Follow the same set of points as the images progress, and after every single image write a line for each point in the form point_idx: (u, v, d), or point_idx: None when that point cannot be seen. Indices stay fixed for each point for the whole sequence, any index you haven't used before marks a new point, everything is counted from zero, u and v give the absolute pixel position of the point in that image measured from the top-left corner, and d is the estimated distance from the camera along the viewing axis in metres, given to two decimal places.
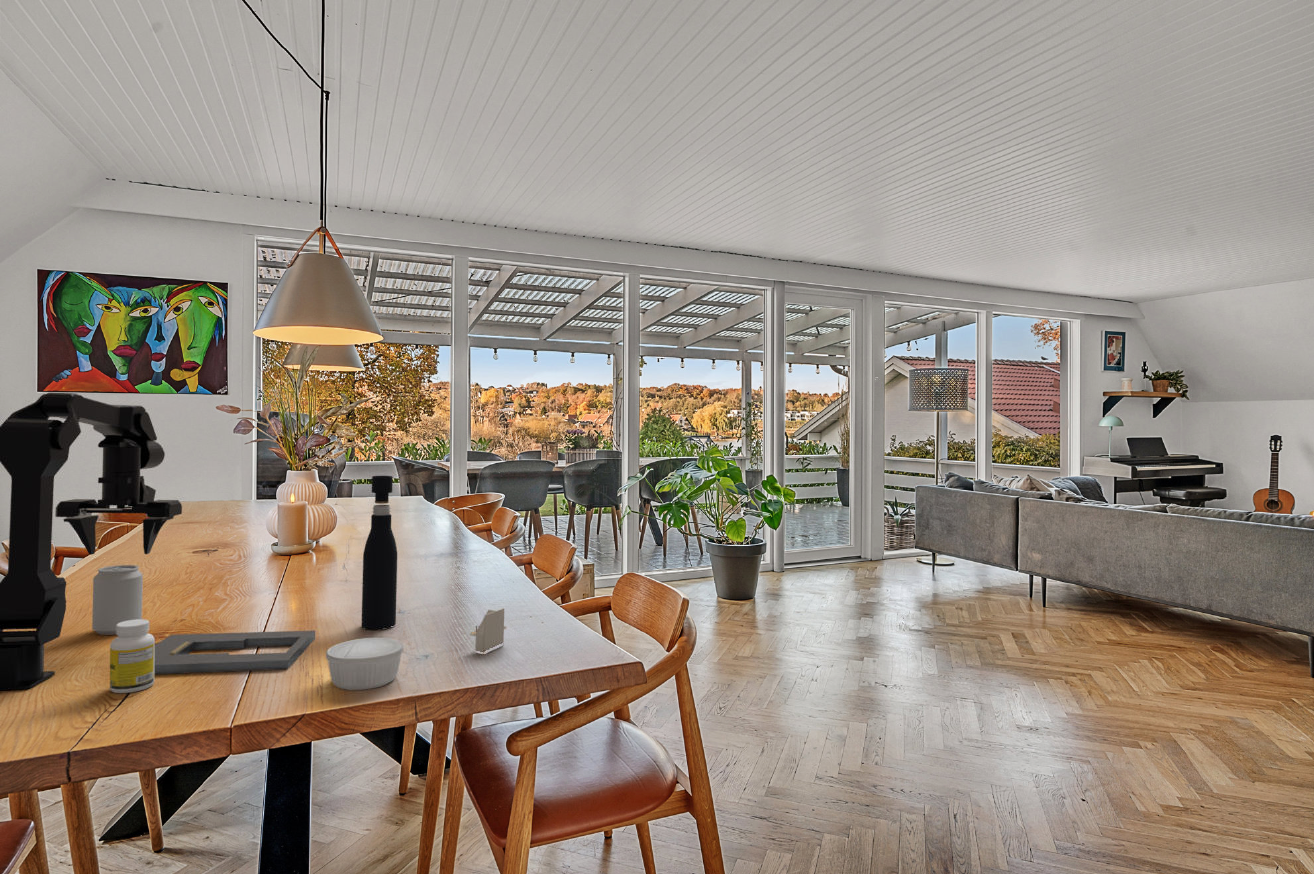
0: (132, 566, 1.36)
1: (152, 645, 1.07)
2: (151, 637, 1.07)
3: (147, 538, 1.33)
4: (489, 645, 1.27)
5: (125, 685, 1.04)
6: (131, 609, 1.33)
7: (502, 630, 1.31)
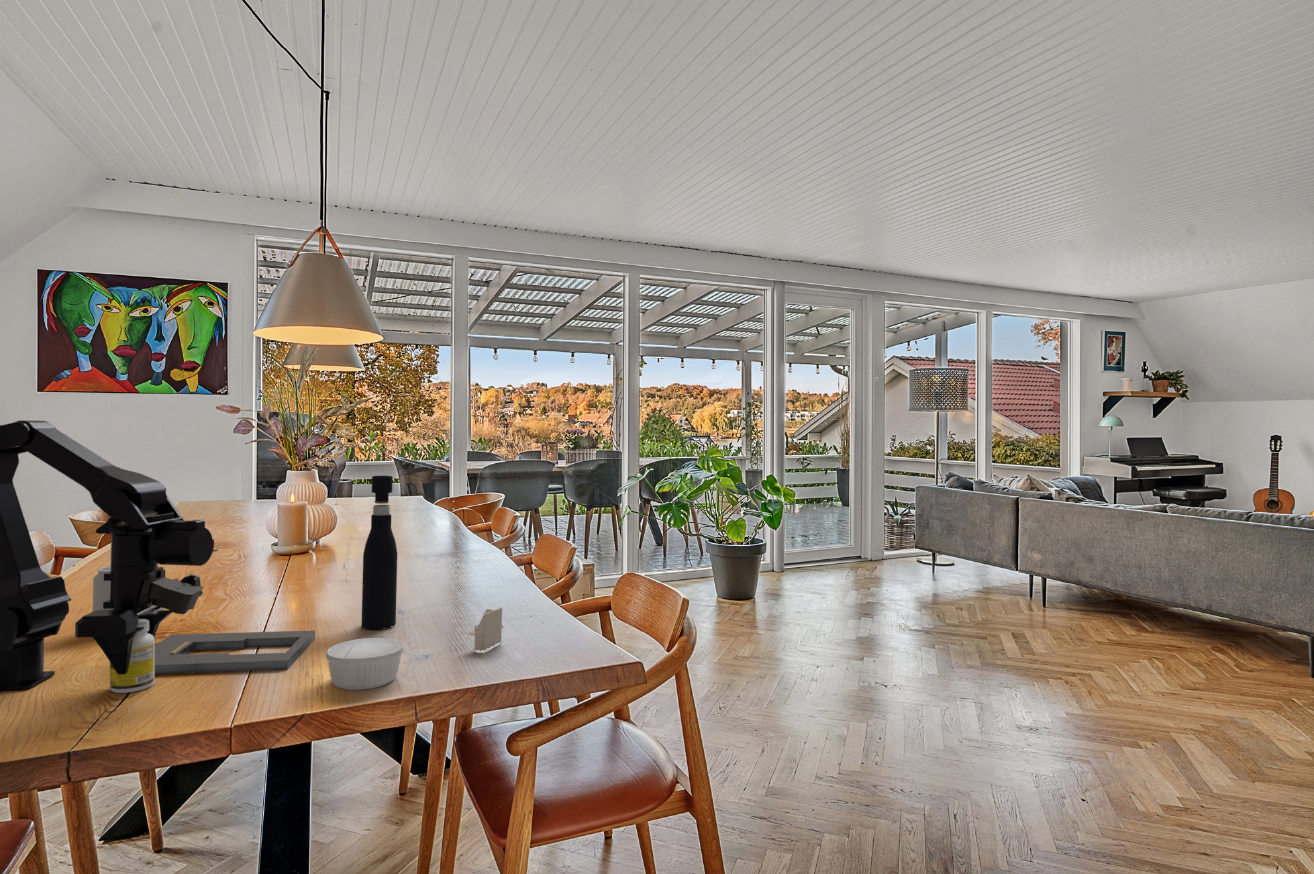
0: None
1: (152, 645, 1.07)
2: (151, 637, 1.07)
3: None
4: (488, 644, 1.28)
5: (125, 685, 1.04)
6: None
7: (500, 629, 1.31)
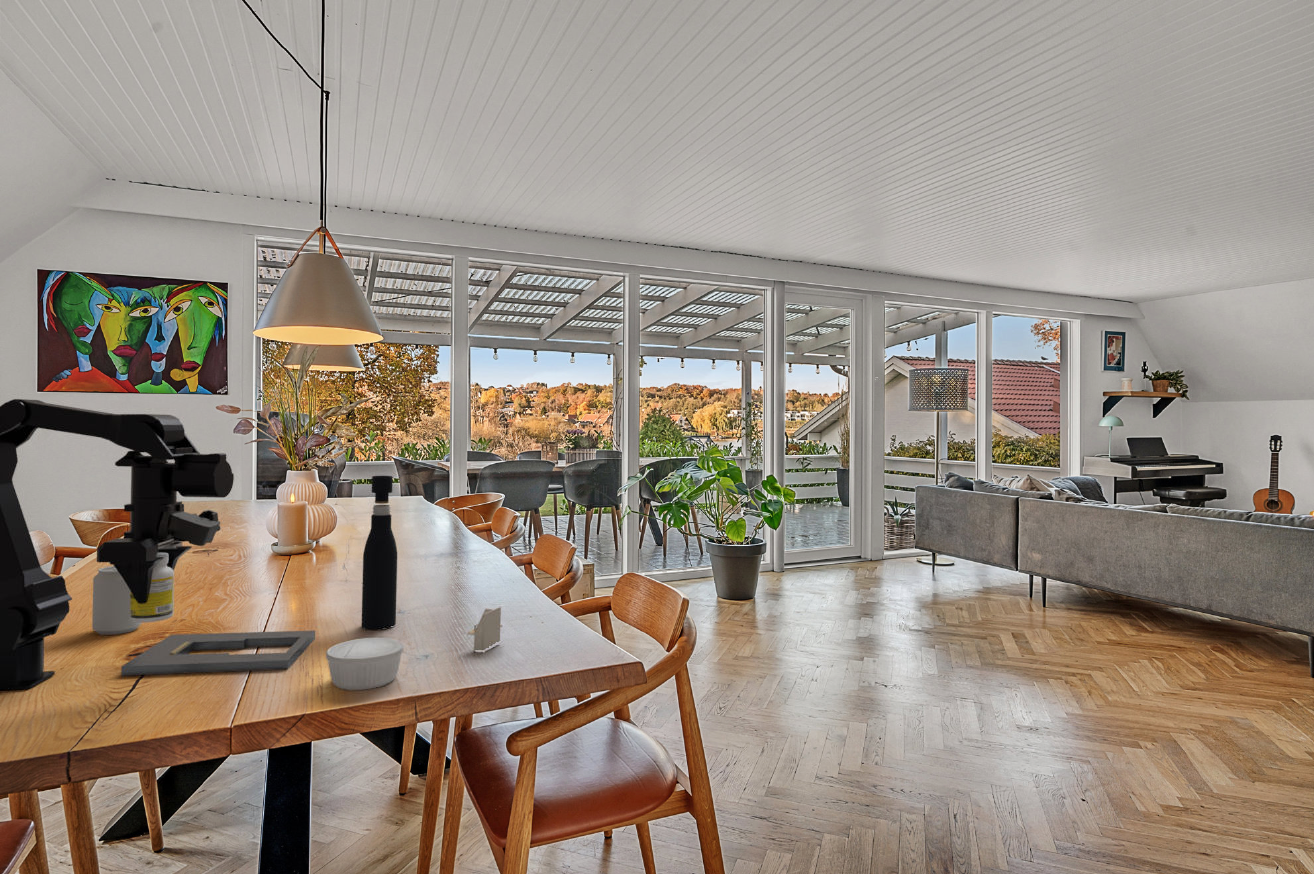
0: None
1: (171, 577, 1.08)
2: (170, 569, 1.09)
3: None
4: (487, 644, 1.28)
5: (145, 615, 1.06)
6: None
7: (499, 628, 1.32)
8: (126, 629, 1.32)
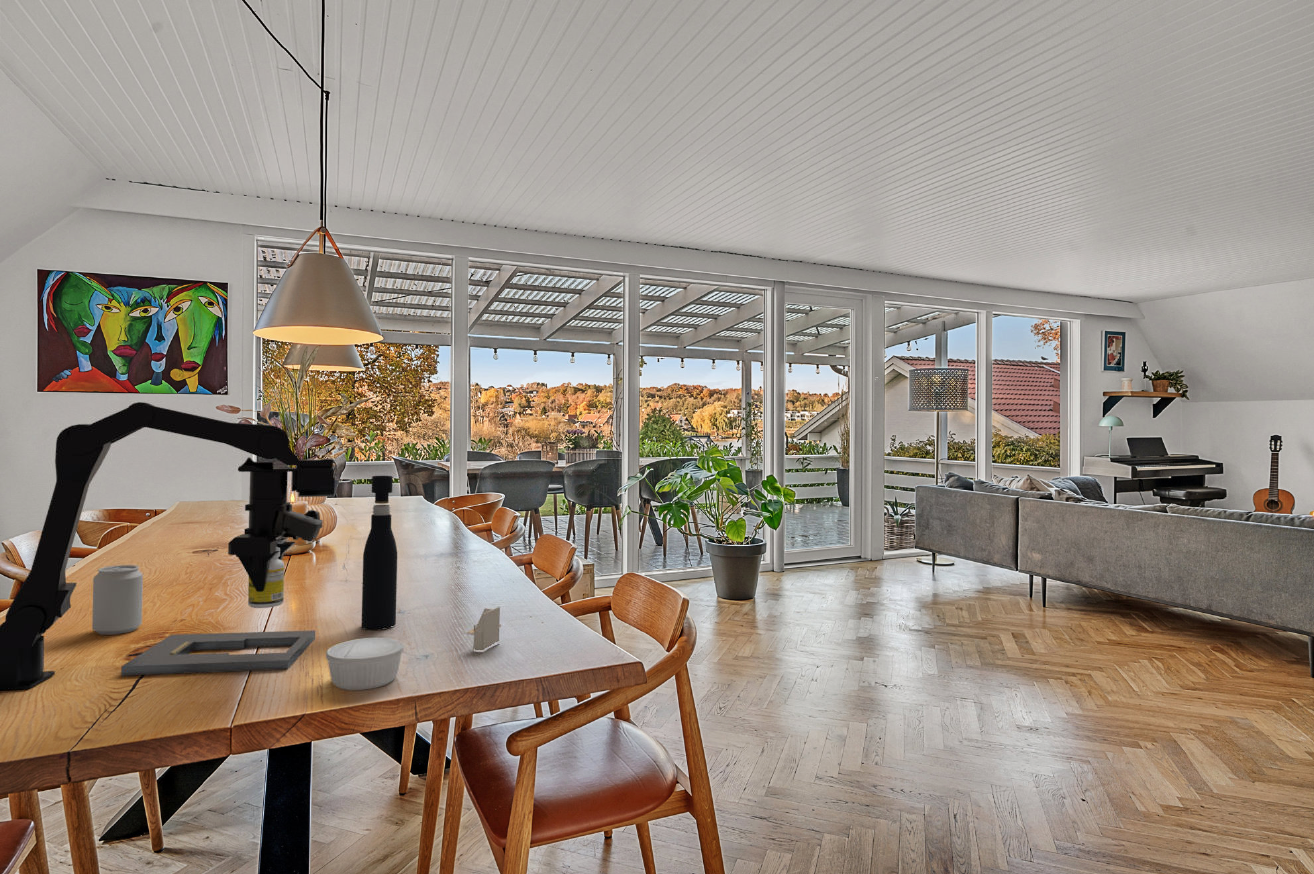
0: (132, 566, 1.36)
1: (283, 568, 1.23)
2: (282, 562, 1.23)
3: None
4: (487, 643, 1.28)
5: (263, 601, 1.20)
6: (131, 609, 1.33)
7: (498, 628, 1.32)
8: (126, 629, 1.32)
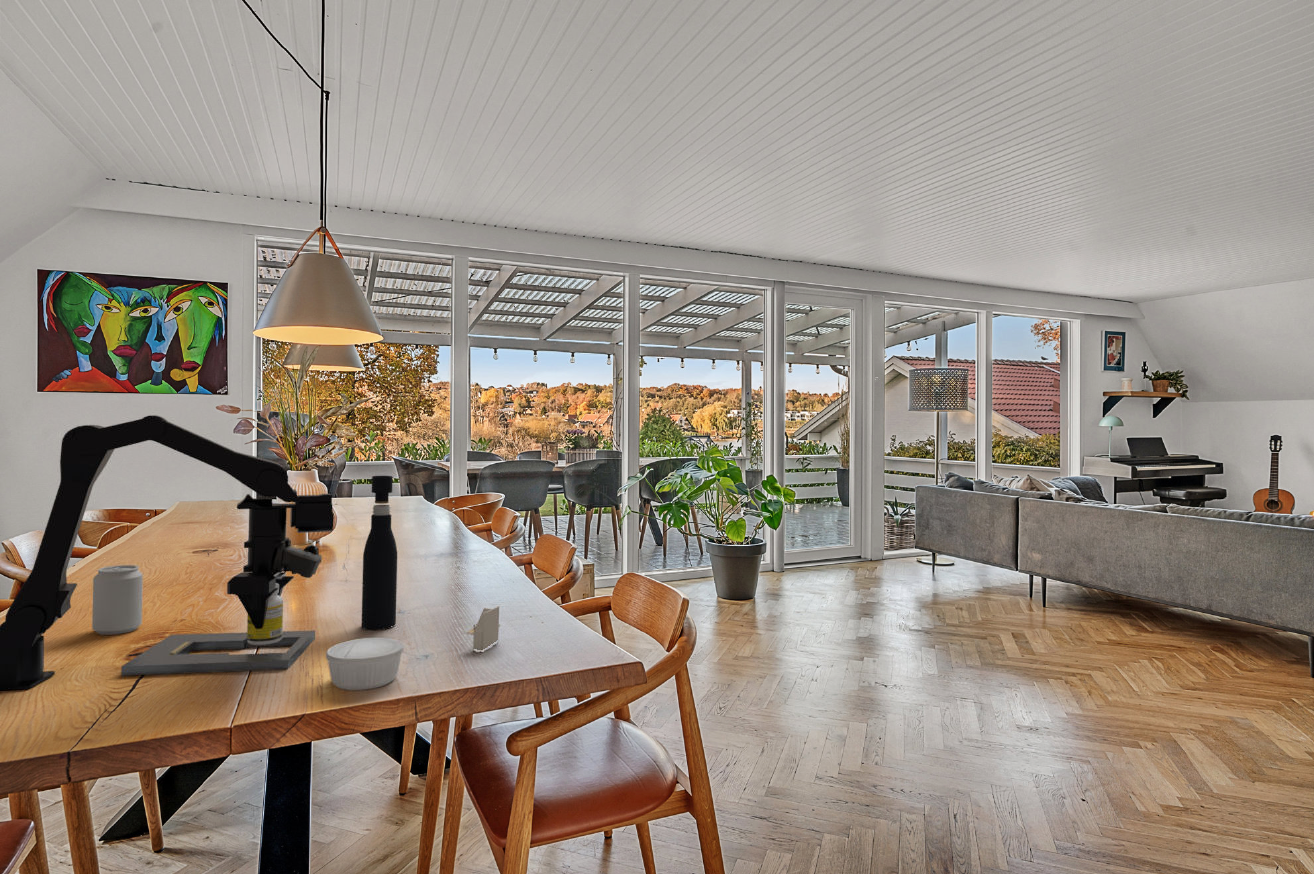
0: (132, 566, 1.36)
1: (282, 604, 1.23)
2: (281, 598, 1.23)
3: None
4: (487, 643, 1.29)
5: (262, 638, 1.20)
6: (131, 609, 1.33)
7: (497, 628, 1.32)
8: (126, 629, 1.32)
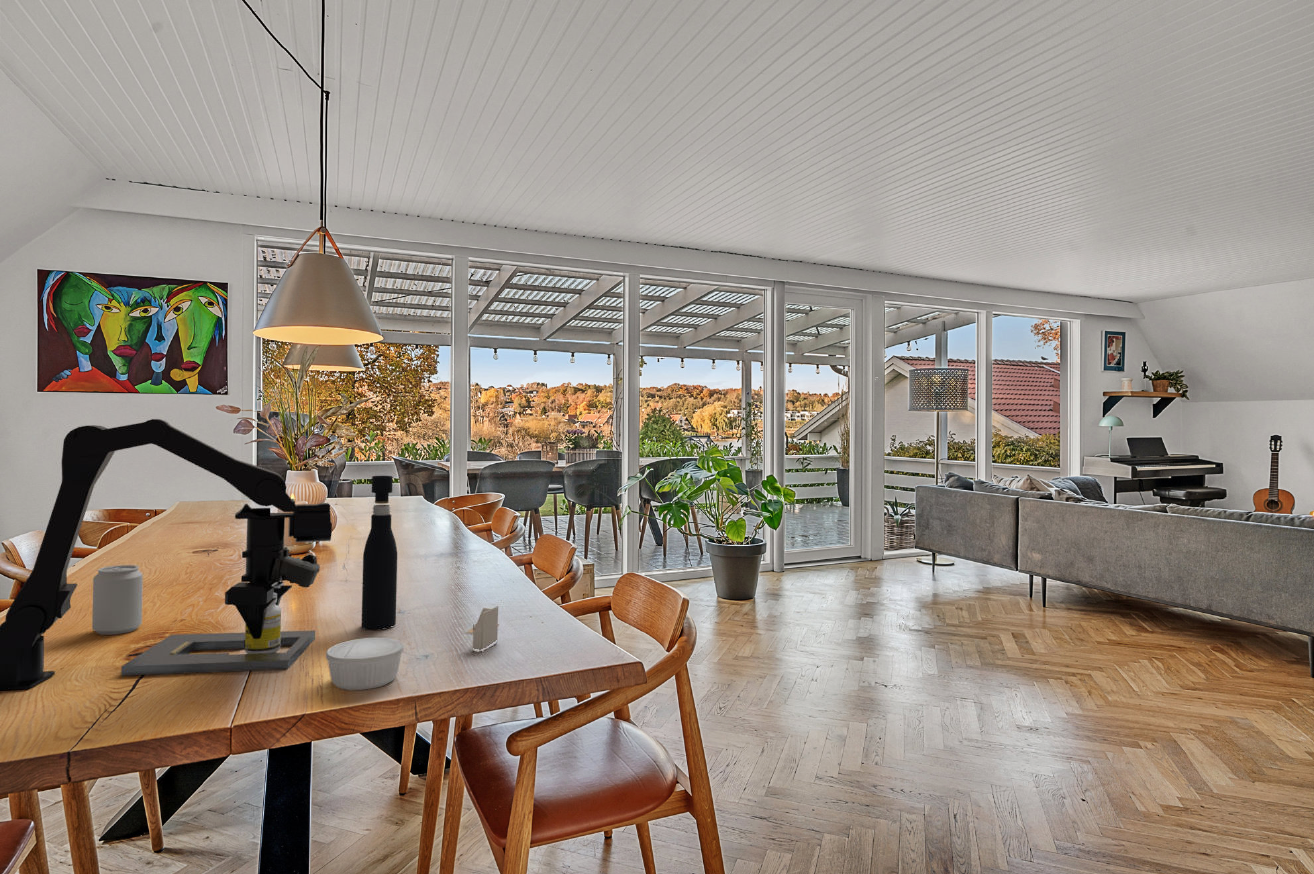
0: (132, 566, 1.36)
1: (280, 614, 1.23)
2: (279, 607, 1.23)
3: None
4: (486, 643, 1.29)
5: (259, 648, 1.20)
6: (131, 609, 1.33)
7: (496, 628, 1.32)
8: (126, 629, 1.32)
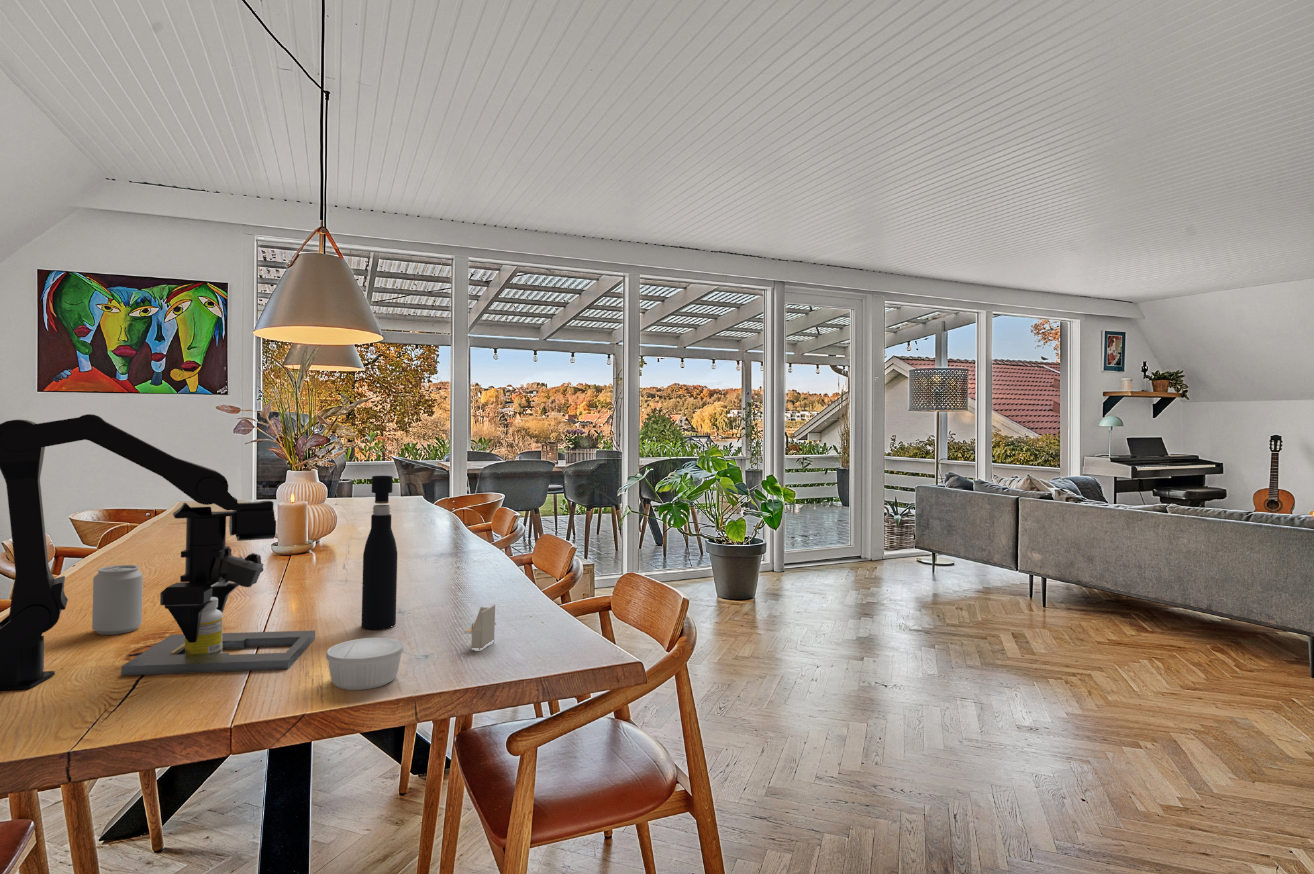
0: (132, 566, 1.36)
1: (221, 619, 1.21)
2: (220, 612, 1.21)
3: None
4: (484, 642, 1.29)
5: None
6: (131, 609, 1.33)
7: (493, 626, 1.33)
8: (126, 629, 1.32)
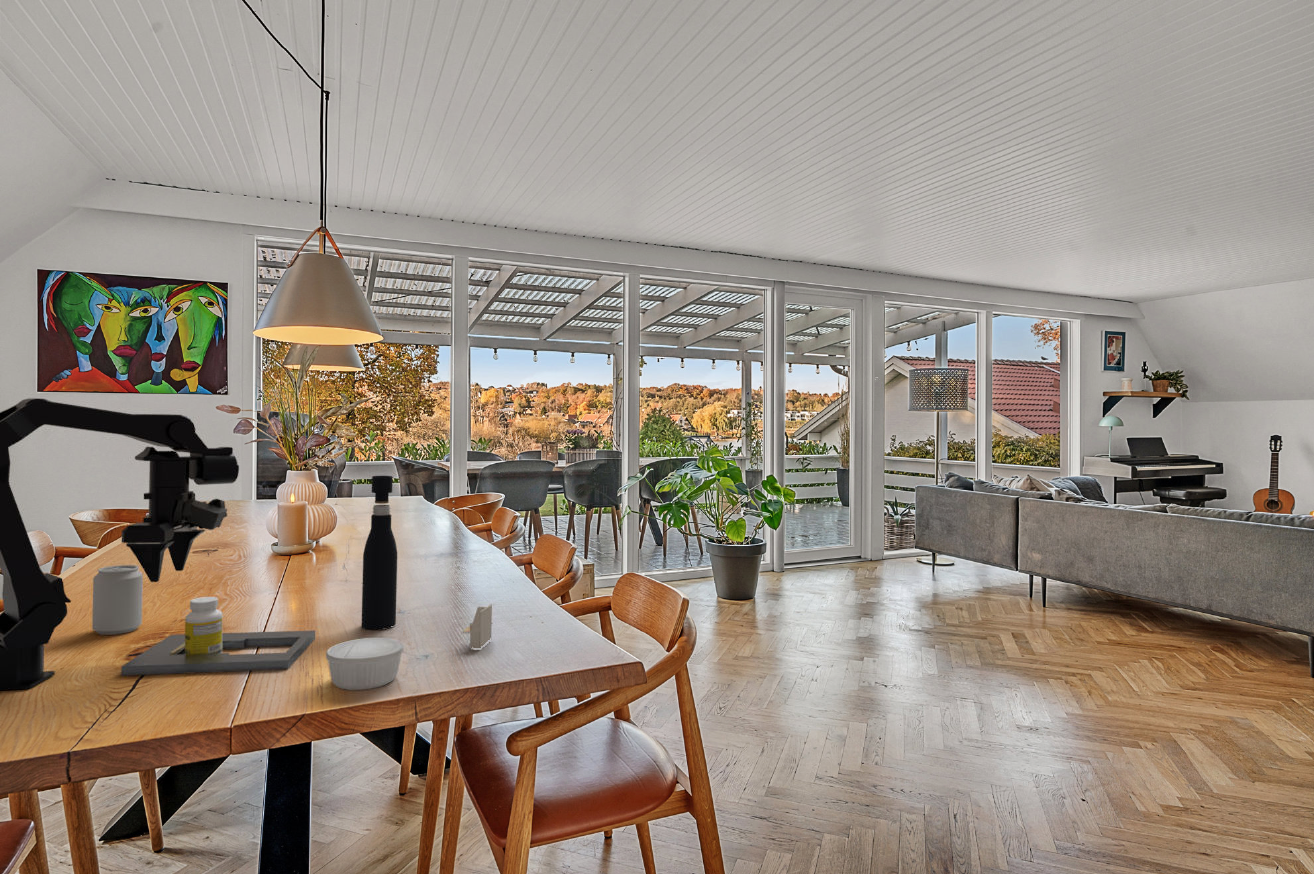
0: (132, 566, 1.36)
1: (221, 619, 1.21)
2: (220, 612, 1.21)
3: None
4: (483, 641, 1.30)
5: None
6: (131, 609, 1.33)
7: (490, 626, 1.33)
8: (126, 629, 1.32)
